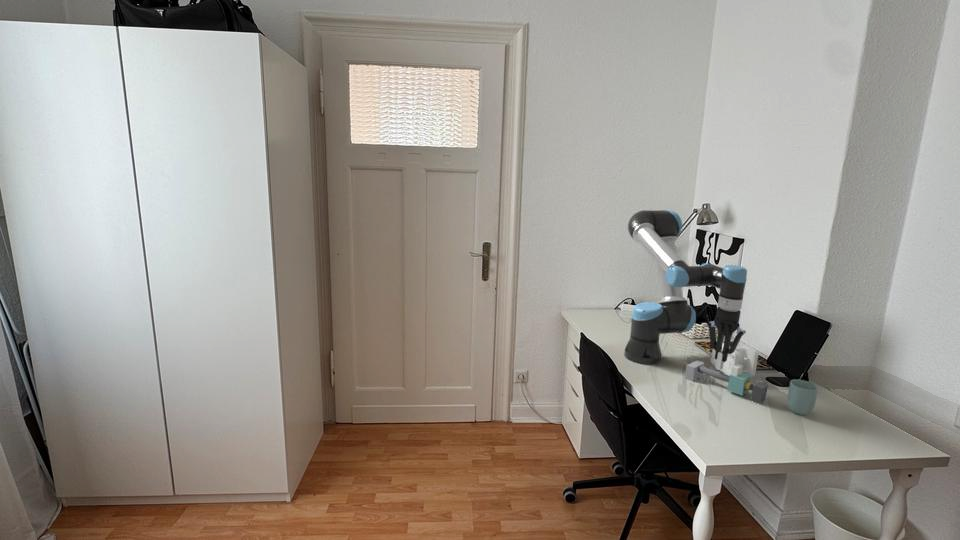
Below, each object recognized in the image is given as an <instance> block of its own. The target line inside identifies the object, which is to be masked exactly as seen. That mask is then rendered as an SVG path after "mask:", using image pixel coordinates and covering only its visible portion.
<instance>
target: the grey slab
mask: <svg viewBox="0 0 960 540" xmlns="http://www.w3.org/2000/svg"><path fill="white" fill-rule="evenodd" d="M699 366H702V367H705V362H704V361H700V360H695V361H693V362H691V363H688V364H686V370H685V376H684V379H686V380H689V381H691V382H694V381H695V380H697V379H699V378H701V377H702V376H703V373H700V372H698V371H697V370H698V367H699Z"/></svg>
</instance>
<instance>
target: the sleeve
mask: <svg viewBox="0 0 960 540" xmlns="http://www.w3.org/2000/svg"><path fill="white" fill-rule="evenodd" d="M742 368H743V365H740V364H735V365H734V366H732V369H731V374H730V376H729V383H728V382H727V383H728V384H727V391H728V392H731V393H733V394H737V395H738V396H739V395H740V396H744V395H745V394H746V393H748V392H749V391H750V390H747V389H745V382H749V383H751V381H752V376H751V375H749V374H745V373H742Z"/></svg>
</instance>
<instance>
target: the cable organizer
mask: <svg viewBox="0 0 960 540" xmlns="http://www.w3.org/2000/svg"><path fill="white" fill-rule="evenodd" d="M732 343H733V340H732V342H731V344H732ZM723 347H724V342H723V344H722V350H721V351H723ZM711 349H712V348H711ZM729 349H730V348H729ZM715 353H716V351H715V349H712V350H711V356H710V357H711V358H710V363H711V365H712V366H713V367H714V369H716V363H717V359H715ZM758 360H759V352H758V350H757V349H755V348H753V347H752V346H750V345H749V344H746V343H745V342H743V341H741V340H740V341H739V343H738V345H737V347H736V349H735V351H734V352H733V353H732V354H728V357H727V361H726V362H724V364H723V368H722V369H721V370H719V372H720V373H722V374H725V375H728V376H730V374H731V369H732V366H734V365H735V364H740V365H743V368H742V373H745V374H749V375H751V377H754V376H756V371H757V367H758V366H757V365H758Z"/></svg>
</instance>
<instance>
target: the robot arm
mask: <svg viewBox="0 0 960 540" xmlns="http://www.w3.org/2000/svg"><path fill="white" fill-rule="evenodd" d="M682 229H683V222H682V218H681V217H680V215H679V214H678V213H676V211H674V210H666V209H662V210H640V211H638V212H635V213H634V214H633V215H632V216H631V217H630V219H629V221H628V224H627V230H628V233H629V235H630V237H631V238H632V239H633V241H635V242H637V243H640V245H641V246H642V247H643V248H644V249H645V250H646V251H647V252H648V254H649V255H650V256H651V257H652V259H654V260H655V262H656V269H657V275H658V284H659V291H660V297H661V298H660V300H659V301H658V302H653V301H652V302H649V301H645V302H640V303H637V304H636V305H634V306H633V308H632V314H631V322H630V323H631V326H630V333H629V334H630V336H629V340H628V341H627V343H626V346H625V347H624V352H623V355H624V357H625V358H626V359H628V360H629V361H632V362H634V363H639V364H645V365H656V364H659V363H660V362H661V361H662V356H663V354H662V350H661V346H660V336H661V334H662V335H663V334H681V333H686V332H690V331H691V330H692V329H693V327H694V326H695V324H696V321H697V316H696V315H697V313H696V310H695V309H694V308H693V306H692V305H690V304H688V299H686V298H685V297H684V295H683V291H682V290H683V289H682V288H686V287H690V288H691V287H708V286H709V287H710V286H711V287H715V288H717V289H719V295H718V300H717V301H718V303H717V306H718V307H716V308H717V309H716V314H715V318H714V320H713V321H712V320H710V321H708V322H707V323H706V326H707V328H708V331H709V332H708V333H709V342H710V348H711V349H715V351H716V353H715V359H717V363H716V368H715V370H718V371H720V370H721V369H722V368H723V364H724V362H726V361H727V357H728V354H732V353H733V352H734V351H735V349H736V347H737V345H738V343H739V341H741V339H742V337H743V336H744V335H745V334H746V333H747V331H746V330H743V329H742V328H741V327H740V317H741V310H742V307H743V306H742V305H743V301H744V300H743V298H744V294H745V289H746V288H745V287H746V284H747V283H746V282H747V275H748V270H747V268H746V267H743V266H739V265H733V264H728V265H727V264H726V265H724V266H723V267H721V266H718V265H716V264H712V263H706V262H705V263H702V264H701V265H700V264H699V265H692V266H691V265H689V264H687V263H686V262H685V260H683V259H682V258H681V257H680V255H678V254H677V247H676V241H678V239H679V235H681V232H682ZM716 329H717V333H716ZM735 332H736V334H735V337H734V339H733V340H732V335H733V333H735ZM731 340H732V341H733V343H732V342H731ZM723 343H724V347H723V351H721V350H722V344H723ZM729 348H730V349H729Z"/></svg>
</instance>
